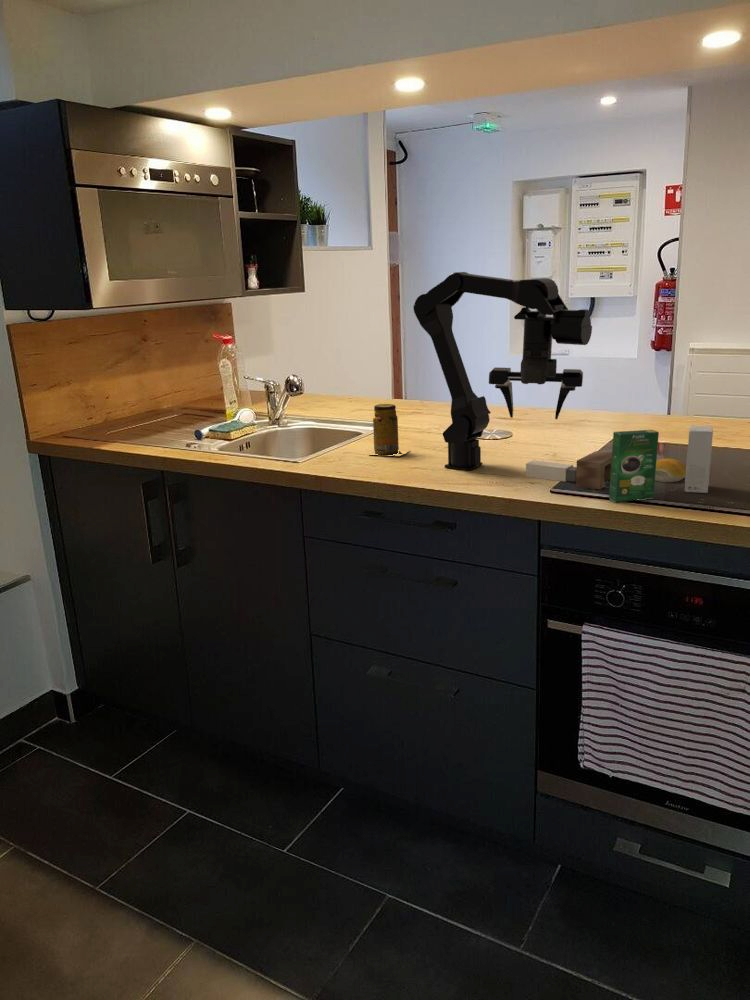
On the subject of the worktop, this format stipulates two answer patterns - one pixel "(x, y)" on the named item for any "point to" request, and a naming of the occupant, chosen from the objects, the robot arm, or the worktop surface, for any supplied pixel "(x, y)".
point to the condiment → (385, 429)
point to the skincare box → (698, 459)
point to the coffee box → (633, 465)
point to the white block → (551, 470)
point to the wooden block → (593, 470)
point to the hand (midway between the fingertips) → (533, 418)
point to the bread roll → (669, 470)
